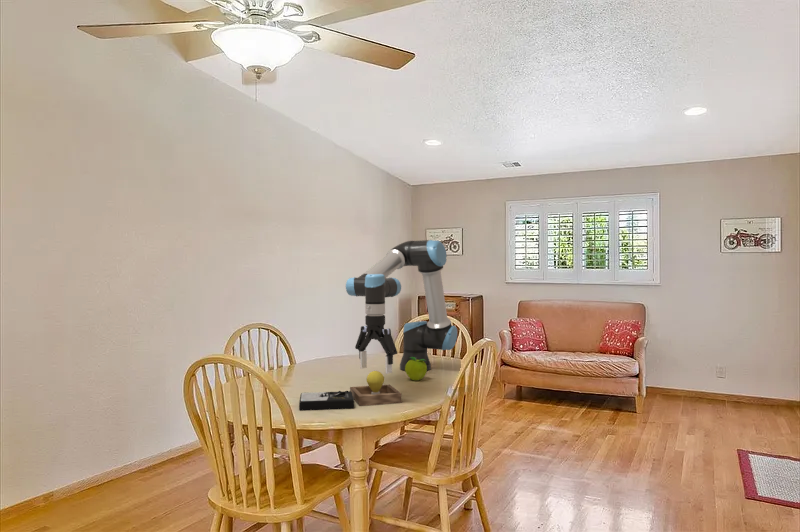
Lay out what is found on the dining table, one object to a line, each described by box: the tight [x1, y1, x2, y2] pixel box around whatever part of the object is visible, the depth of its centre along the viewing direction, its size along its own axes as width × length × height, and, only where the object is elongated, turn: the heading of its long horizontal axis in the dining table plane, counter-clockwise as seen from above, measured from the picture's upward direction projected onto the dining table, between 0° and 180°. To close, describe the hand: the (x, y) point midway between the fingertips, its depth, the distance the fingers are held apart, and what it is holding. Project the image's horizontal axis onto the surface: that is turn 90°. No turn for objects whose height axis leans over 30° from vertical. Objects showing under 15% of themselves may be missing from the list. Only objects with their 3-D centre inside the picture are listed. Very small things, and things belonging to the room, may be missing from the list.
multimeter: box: [298, 390, 355, 412], centre depth 196 cm, size 13×19×5 cm
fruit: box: [404, 357, 428, 381], centre depth 239 cm, size 9×9×10 cm
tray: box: [349, 383, 403, 407], centre depth 205 cm, size 16×16×3 cm
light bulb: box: [366, 370, 385, 395], centre depth 205 cm, size 7×7×10 cm
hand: (375, 370), depth 205 cm, fingers open, 13 cm apart
